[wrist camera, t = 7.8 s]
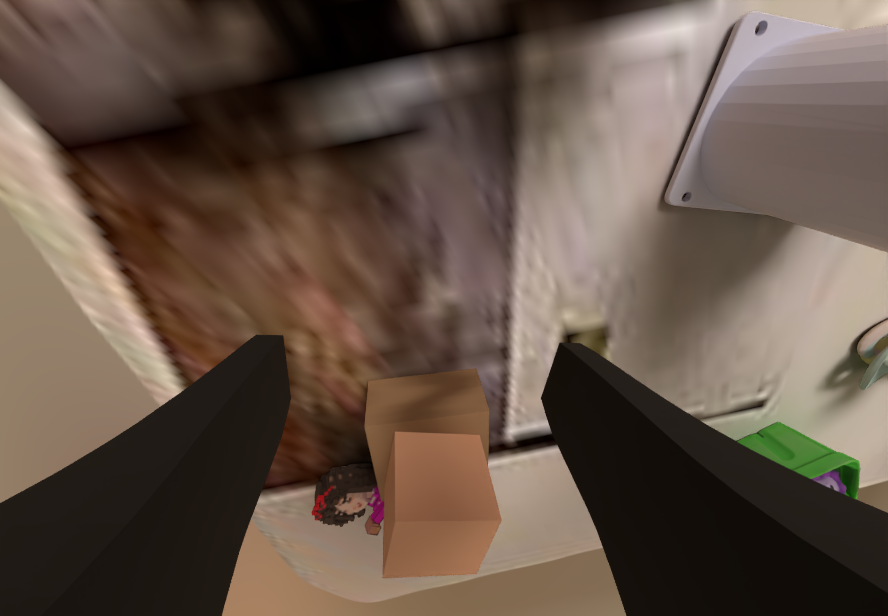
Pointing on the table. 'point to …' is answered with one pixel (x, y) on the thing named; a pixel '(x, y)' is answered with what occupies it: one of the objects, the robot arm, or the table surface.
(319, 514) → the character figurine
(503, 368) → the table surface
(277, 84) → the table surface
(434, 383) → the brown square block
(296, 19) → the table surface
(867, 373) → the pacifier
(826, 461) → the fruit basket
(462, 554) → the terracotta cube
